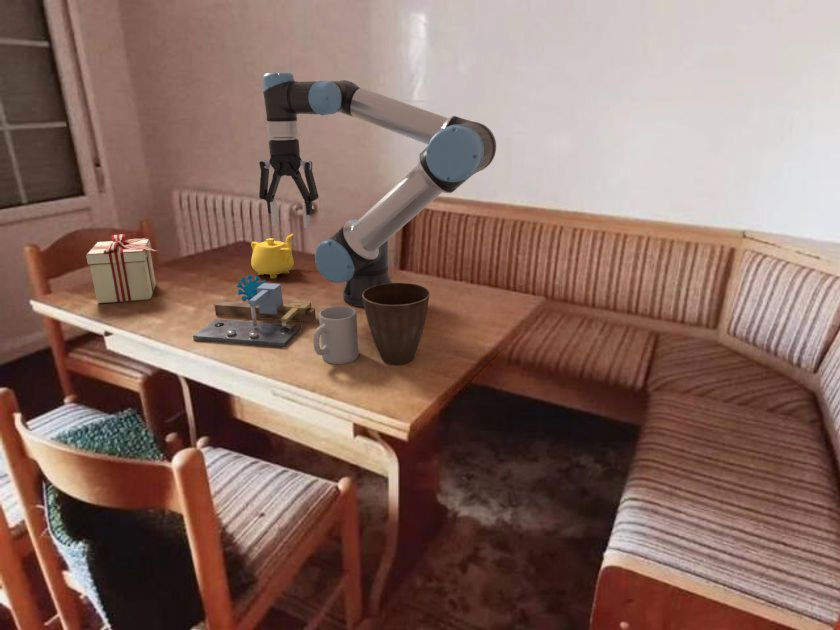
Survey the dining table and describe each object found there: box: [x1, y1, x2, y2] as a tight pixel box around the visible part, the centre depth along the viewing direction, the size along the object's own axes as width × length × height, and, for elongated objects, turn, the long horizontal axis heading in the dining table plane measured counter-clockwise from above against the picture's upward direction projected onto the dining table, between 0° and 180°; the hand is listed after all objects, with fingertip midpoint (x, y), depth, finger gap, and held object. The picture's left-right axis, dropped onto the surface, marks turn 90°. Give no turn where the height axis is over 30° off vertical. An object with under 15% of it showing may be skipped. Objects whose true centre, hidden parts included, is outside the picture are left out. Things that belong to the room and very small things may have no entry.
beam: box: [214, 301, 317, 323], centre depth 158 cm, size 28×2×3 cm, turn 79°
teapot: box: [250, 233, 295, 279], centre depth 192 cm, size 14×14×12 cm
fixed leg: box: [280, 300, 312, 329], centre depth 152 cm, size 5×13×3 cm, turn 169°
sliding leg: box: [248, 282, 284, 327], centre depth 152 cm, size 5×13×7 cm, turn 169°
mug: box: [312, 305, 360, 365], centre depth 133 cm, size 12×8×11 cm
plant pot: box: [362, 282, 430, 366], centre depth 132 cm, size 15×15×16 cm
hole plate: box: [192, 318, 303, 349], centre depth 147 cm, size 24×11×2 cm, turn 79°
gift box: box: [85, 233, 159, 304], centre depth 174 cm, size 17×18×17 cm
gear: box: [236, 274, 268, 302], centre depth 169 cm, size 11×6×10 cm
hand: (291, 225), depth 157 cm, fingers open, 8 cm apart
